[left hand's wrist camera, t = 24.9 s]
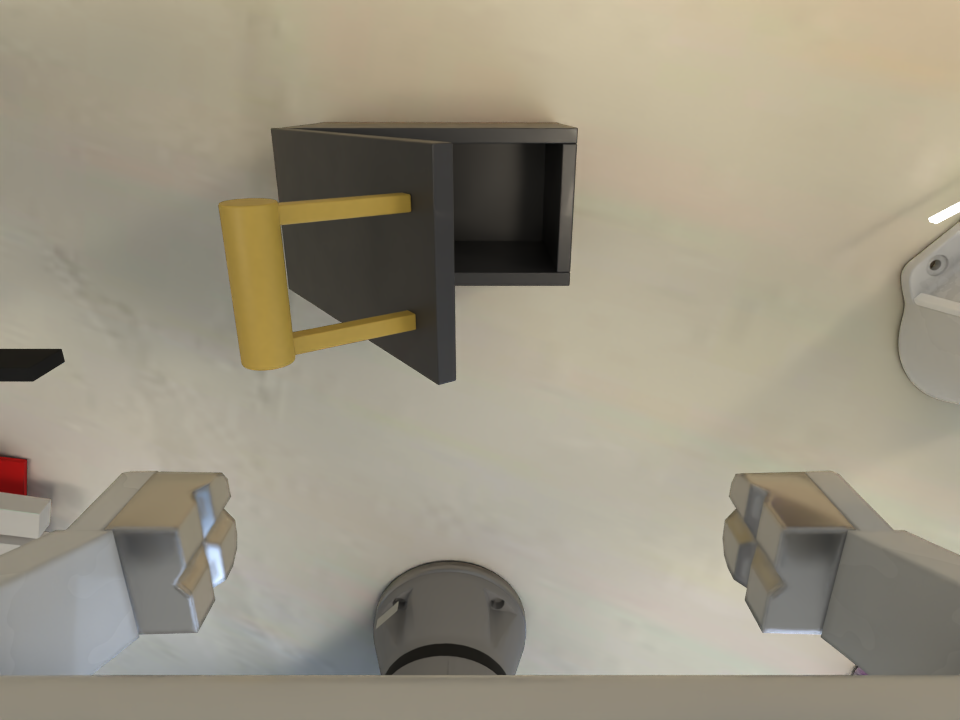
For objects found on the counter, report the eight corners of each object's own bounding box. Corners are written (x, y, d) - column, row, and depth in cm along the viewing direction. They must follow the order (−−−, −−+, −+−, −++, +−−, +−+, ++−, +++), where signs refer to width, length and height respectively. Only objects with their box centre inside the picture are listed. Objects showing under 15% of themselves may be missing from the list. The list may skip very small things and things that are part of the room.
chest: (557, 122, 48) (578, 127, 38) (551, 249, 52) (569, 286, 41) (323, 122, 48) (280, 127, 38) (334, 249, 52) (297, 285, 41)
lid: (453, 142, 24) (227, 150, 19) (456, 380, 27) (266, 431, 23) (285, 127, 38) (132, 130, 33) (302, 286, 41) (166, 307, 37)
